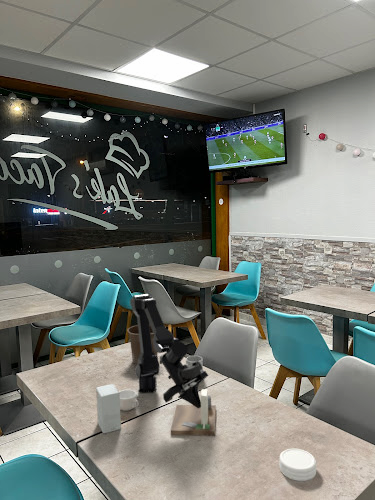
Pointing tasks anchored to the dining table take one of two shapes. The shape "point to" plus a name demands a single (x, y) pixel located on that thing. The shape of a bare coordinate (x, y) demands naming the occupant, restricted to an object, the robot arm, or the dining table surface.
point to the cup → (194, 360)
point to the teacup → (128, 399)
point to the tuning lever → (205, 406)
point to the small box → (108, 408)
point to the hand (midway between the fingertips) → (200, 407)
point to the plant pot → (137, 342)
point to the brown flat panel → (192, 421)
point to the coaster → (297, 464)
